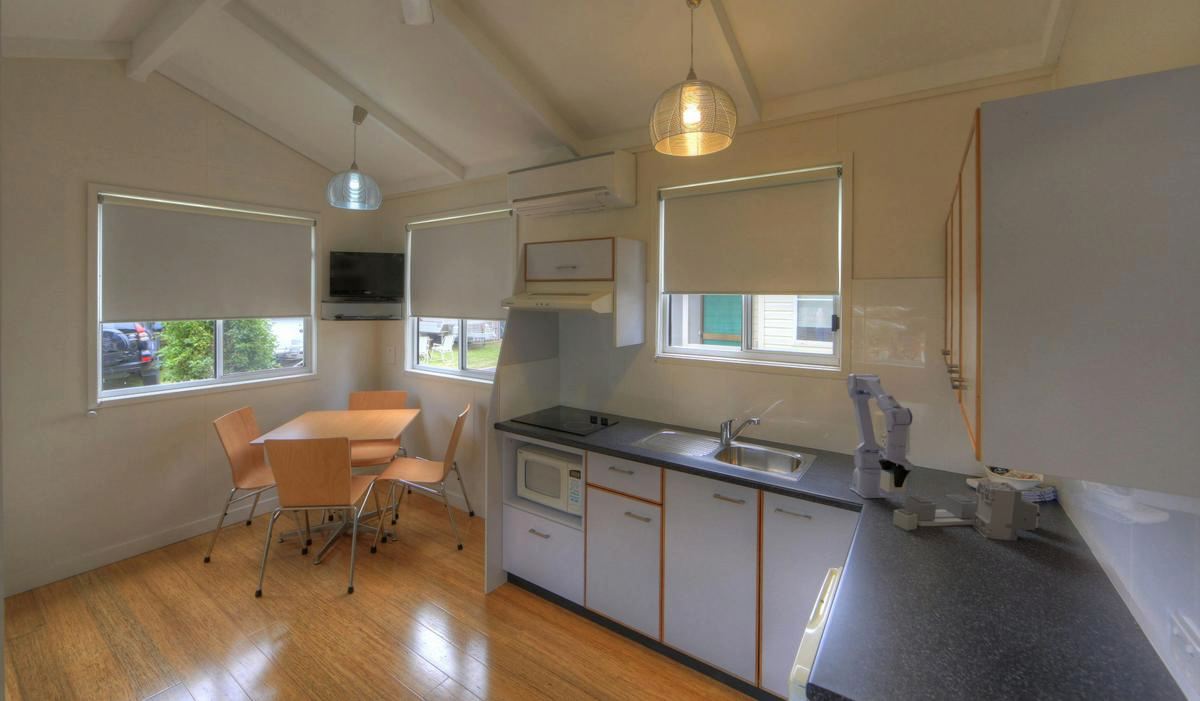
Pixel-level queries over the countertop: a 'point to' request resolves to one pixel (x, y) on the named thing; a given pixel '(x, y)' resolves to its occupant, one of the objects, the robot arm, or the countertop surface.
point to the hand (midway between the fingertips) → (893, 484)
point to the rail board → (942, 511)
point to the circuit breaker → (1003, 511)
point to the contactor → (905, 519)
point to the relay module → (890, 482)
